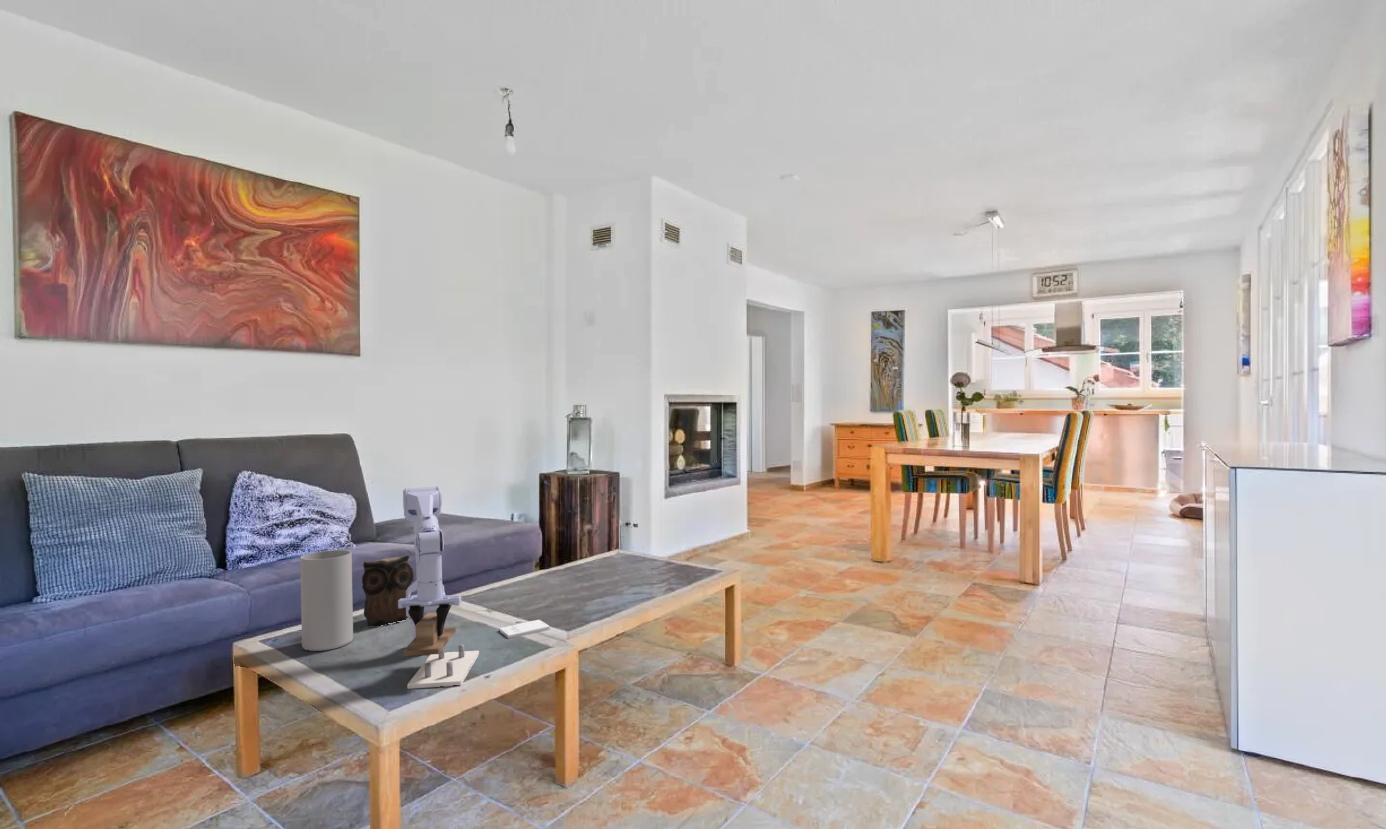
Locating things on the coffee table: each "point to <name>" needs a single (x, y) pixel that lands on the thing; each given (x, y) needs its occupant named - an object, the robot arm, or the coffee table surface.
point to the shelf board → (430, 647)
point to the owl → (386, 589)
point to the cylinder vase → (326, 600)
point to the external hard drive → (524, 628)
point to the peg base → (444, 669)
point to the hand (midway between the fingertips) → (430, 635)
